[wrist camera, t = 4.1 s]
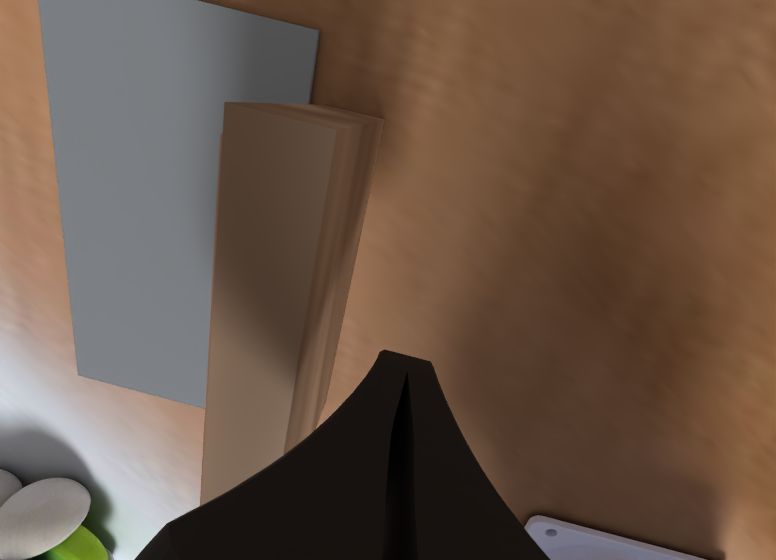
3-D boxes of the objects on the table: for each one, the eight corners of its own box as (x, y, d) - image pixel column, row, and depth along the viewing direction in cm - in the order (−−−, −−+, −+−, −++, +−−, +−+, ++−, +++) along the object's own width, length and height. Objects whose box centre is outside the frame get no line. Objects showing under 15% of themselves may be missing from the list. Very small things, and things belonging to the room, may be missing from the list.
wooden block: (384, 119, 13) (337, 129, 7) (326, 400, 18) (265, 559, 12) (319, 102, 13) (210, 98, 7) (277, 387, 18) (191, 539, 12)
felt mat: (319, 31, 12) (318, 30, 12) (266, 421, 19) (264, 424, 19) (39, -39, 13) (33, -41, 12) (81, 372, 19) (77, 375, 19)
